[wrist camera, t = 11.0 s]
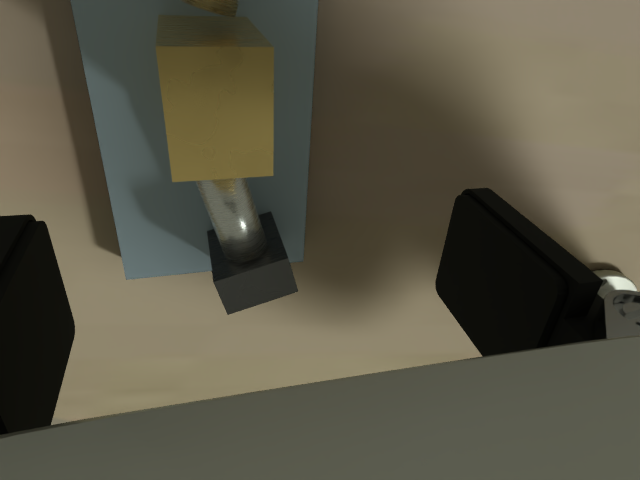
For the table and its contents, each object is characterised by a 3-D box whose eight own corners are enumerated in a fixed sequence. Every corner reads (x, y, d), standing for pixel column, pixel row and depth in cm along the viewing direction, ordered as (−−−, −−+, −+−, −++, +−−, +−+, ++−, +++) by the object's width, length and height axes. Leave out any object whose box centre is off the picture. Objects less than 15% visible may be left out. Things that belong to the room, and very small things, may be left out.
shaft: (280, 242, 30) (298, 291, 26) (219, 261, 29) (227, 314, 25) (246, 130, 25) (261, 168, 21) (173, 151, 25) (175, 194, 21)
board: (296, 244, 33) (303, 261, 31) (128, 260, 30) (126, 279, 28) (318, -231, 20) (332, -245, 18) (24, -283, 17) (9, -305, 15)
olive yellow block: (158, 14, 21) (155, 46, 16) (246, 16, 22) (273, 47, 17) (171, 122, 24) (172, 181, 18) (249, 119, 25) (273, 175, 19)
